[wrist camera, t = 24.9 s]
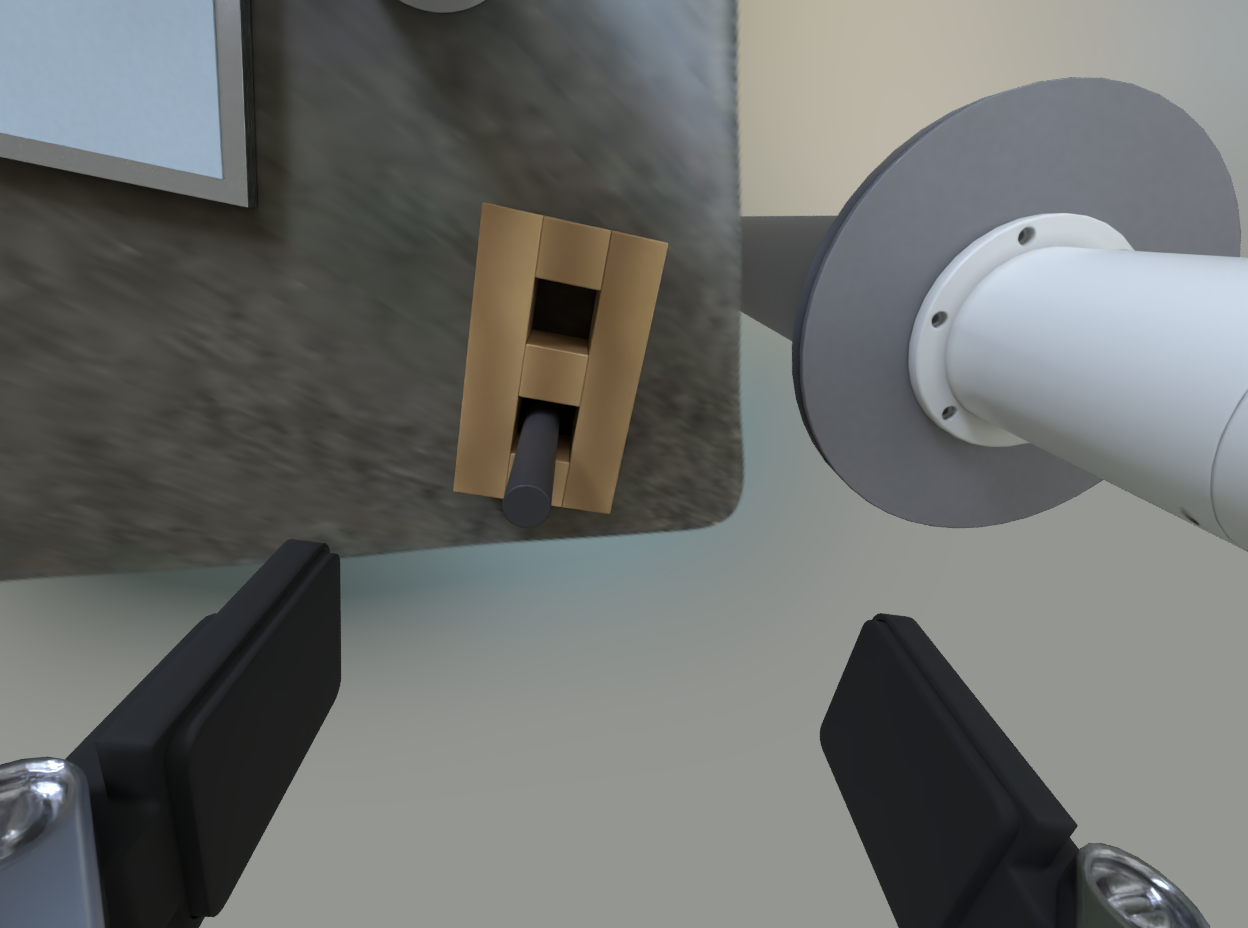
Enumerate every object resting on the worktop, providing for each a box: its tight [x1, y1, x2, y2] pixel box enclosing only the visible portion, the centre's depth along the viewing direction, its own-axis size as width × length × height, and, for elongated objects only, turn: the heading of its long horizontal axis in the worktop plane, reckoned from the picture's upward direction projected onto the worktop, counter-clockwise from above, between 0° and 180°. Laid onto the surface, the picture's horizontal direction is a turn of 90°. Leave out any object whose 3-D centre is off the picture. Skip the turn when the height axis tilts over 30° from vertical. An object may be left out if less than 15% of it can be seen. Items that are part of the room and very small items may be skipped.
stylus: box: [502, 399, 560, 528], centre depth 27 cm, size 2×2×12 cm
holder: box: [453, 203, 668, 514], centre depth 29 cm, size 8×14×4 cm, turn 168°
